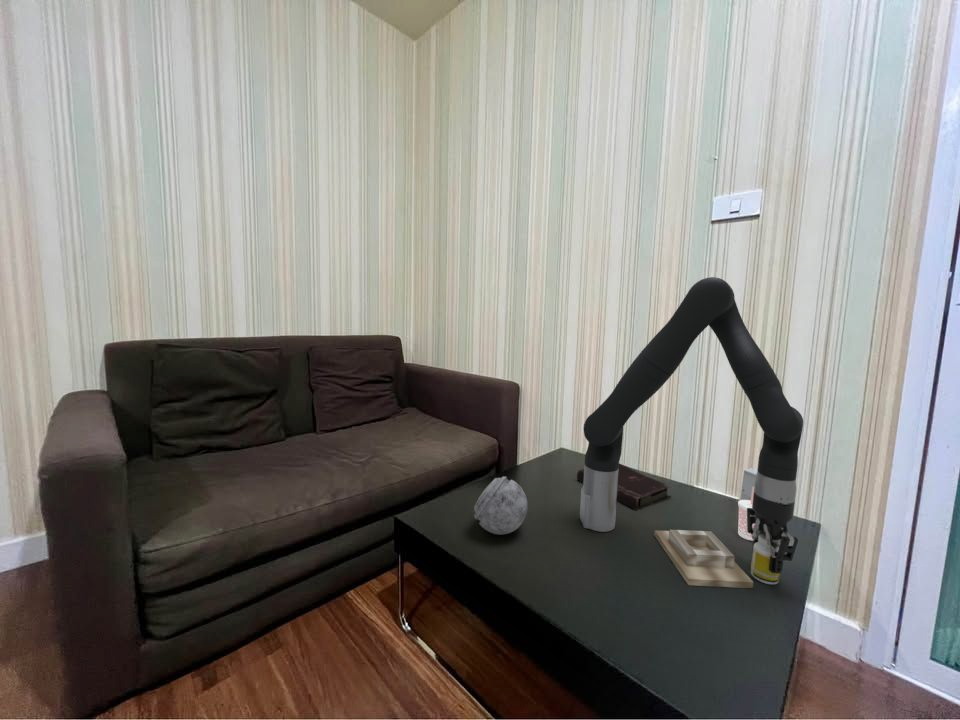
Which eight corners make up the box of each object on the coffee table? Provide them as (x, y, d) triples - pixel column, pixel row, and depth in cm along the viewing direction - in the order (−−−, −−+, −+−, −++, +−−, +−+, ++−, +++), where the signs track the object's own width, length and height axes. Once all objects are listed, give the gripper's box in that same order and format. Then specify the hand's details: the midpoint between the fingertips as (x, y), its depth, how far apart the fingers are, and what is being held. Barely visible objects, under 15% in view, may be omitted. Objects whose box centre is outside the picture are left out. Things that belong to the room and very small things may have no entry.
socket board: (688, 585, 90) (690, 566, 90) (654, 535, 110) (655, 519, 110) (752, 588, 90) (754, 569, 89) (706, 537, 109) (708, 522, 109)
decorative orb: (484, 513, 120) (485, 464, 119) (532, 523, 115) (534, 472, 113) (465, 538, 107) (466, 484, 105) (518, 551, 102) (520, 494, 100)
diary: (635, 513, 124) (636, 498, 123) (576, 482, 145) (577, 469, 144) (672, 498, 133) (673, 484, 133) (612, 472, 154) (612, 459, 154)
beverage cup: (741, 541, 108) (746, 491, 107) (730, 528, 114) (735, 481, 113) (766, 543, 107) (772, 493, 106) (754, 530, 114) (759, 483, 112)
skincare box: (738, 505, 128) (742, 469, 127) (747, 503, 130) (751, 467, 128) (758, 515, 123) (762, 476, 121) (767, 512, 124) (772, 474, 123)
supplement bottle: (783, 587, 90) (788, 546, 89) (756, 583, 91) (761, 543, 90) (771, 572, 95) (776, 533, 94) (746, 568, 97) (750, 530, 95)
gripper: (738, 480, 98) (731, 545, 100) (778, 508, 84) (769, 584, 86) (770, 481, 98) (762, 546, 100) (816, 510, 84) (806, 585, 86)
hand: (766, 563), depth 93 cm, fingers closed on supplement bottle, 5 cm apart
